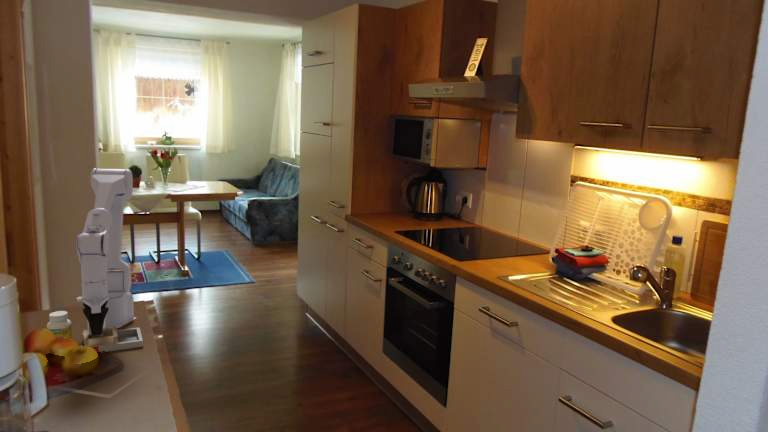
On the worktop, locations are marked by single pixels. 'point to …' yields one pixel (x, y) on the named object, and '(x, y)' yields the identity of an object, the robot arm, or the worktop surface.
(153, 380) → the worktop surface
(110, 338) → the crate
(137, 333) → the bay
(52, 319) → the supplement bottle
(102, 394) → the worktop surface
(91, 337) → the handle peg
